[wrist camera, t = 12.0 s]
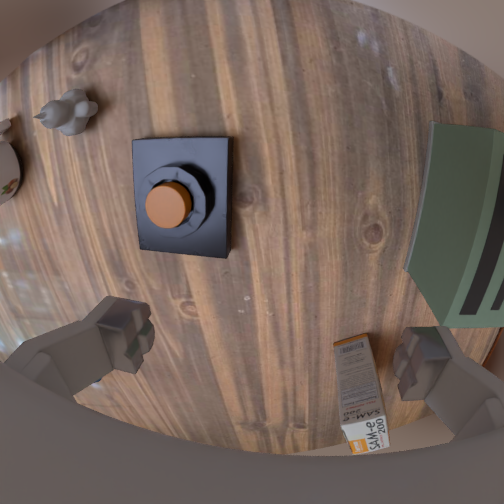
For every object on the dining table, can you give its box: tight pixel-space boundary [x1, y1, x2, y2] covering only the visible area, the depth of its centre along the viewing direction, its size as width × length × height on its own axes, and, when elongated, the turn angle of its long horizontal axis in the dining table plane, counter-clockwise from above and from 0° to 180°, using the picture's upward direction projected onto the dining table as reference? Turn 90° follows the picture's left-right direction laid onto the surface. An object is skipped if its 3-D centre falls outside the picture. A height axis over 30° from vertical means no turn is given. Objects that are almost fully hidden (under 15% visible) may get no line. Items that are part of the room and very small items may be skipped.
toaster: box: [403, 121, 504, 328], centre depth 20 cm, size 16×11×11 cm
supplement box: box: [333, 333, 390, 455], centre depth 29 cm, size 8×5×13 cm, turn 25°
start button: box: [145, 182, 192, 228], centre depth 25 cm, size 4×4×2 cm
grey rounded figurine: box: [33, 89, 98, 136], centre depth 23 cm, size 5×7×8 cm
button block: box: [132, 136, 234, 259], centre depth 28 cm, size 12×10×4 cm
